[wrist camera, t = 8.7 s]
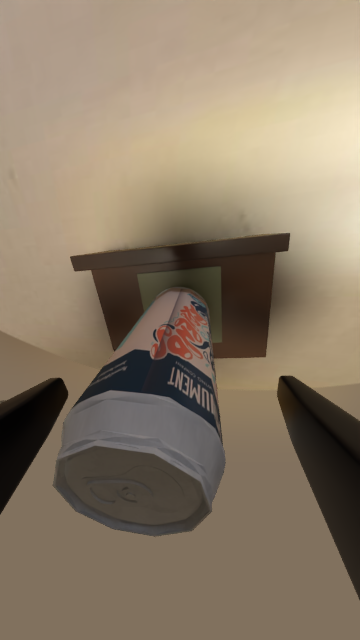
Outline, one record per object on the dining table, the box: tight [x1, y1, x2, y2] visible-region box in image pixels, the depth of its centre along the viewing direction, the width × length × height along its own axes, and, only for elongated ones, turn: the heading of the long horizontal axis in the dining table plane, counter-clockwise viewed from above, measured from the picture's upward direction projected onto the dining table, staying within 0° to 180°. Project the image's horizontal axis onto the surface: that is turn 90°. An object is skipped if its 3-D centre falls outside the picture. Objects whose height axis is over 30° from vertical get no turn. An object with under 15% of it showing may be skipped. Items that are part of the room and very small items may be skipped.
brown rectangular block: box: [70, 233, 290, 358], centre depth 16 cm, size 10×14×5 cm
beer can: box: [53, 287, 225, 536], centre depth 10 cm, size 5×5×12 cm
